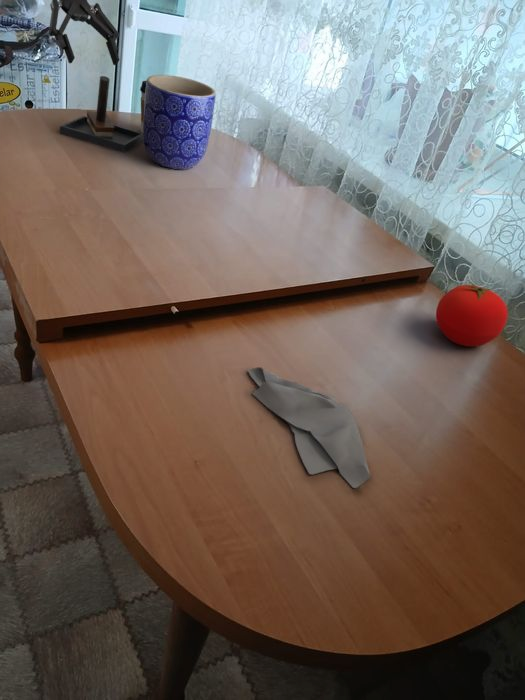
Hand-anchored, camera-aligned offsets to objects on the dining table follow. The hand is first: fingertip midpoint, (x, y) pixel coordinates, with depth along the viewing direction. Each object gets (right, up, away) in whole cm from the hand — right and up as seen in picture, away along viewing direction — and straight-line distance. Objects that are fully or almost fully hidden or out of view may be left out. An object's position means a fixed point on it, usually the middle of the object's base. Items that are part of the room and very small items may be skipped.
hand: (94, 61), depth 152 cm
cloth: (+55, -92, -68) cm, 127 cm away
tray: (0, -18, +7) cm, 20 cm away
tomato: (+87, -78, -40) cm, 124 cm away
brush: (-1, -15, +8) cm, 18 cm away
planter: (+21, -27, +4) cm, 35 cm away
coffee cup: (+12, -13, +18) cm, 26 cm away
